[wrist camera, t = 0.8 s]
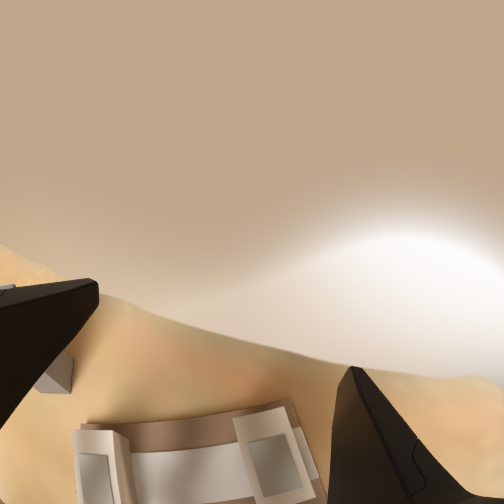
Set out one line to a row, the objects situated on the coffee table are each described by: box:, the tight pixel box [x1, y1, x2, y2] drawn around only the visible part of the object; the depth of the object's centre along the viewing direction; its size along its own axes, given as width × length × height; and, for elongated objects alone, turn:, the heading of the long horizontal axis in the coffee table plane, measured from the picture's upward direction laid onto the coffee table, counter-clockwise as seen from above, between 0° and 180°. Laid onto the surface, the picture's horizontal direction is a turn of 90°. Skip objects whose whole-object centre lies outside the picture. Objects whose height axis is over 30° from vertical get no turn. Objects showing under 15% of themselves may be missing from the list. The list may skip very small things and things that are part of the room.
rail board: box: [73, 398, 327, 504], centre depth 14 cm, size 18×10×4 cm, turn 104°
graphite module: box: [0, 284, 74, 394], centre depth 17 cm, size 4×4×11 cm
